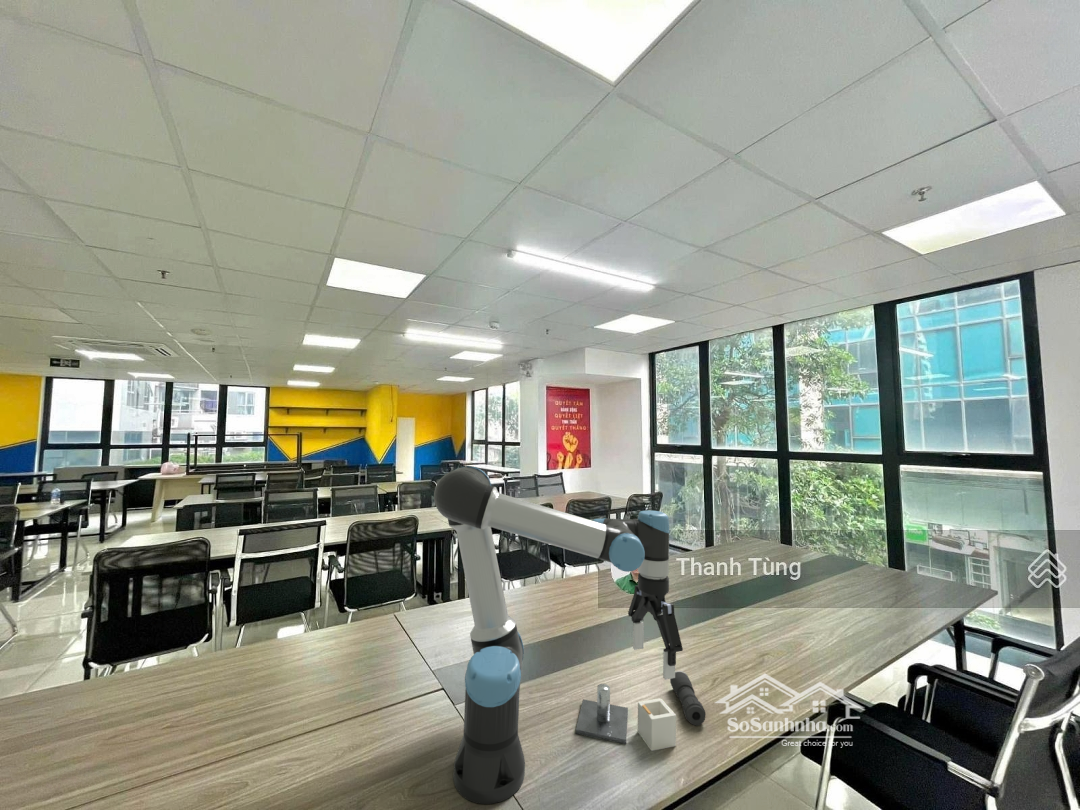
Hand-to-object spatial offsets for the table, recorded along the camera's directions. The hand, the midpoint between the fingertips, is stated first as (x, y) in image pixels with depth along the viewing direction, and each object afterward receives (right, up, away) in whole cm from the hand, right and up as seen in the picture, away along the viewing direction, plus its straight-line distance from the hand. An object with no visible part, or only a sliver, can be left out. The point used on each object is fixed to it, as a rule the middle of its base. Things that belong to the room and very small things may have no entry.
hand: (652, 662), depth 103 cm
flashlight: (+12, -19, +10) cm, 25 cm away
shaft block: (-12, -17, +3) cm, 21 cm away
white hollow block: (0, -17, -2) cm, 17 cm away
